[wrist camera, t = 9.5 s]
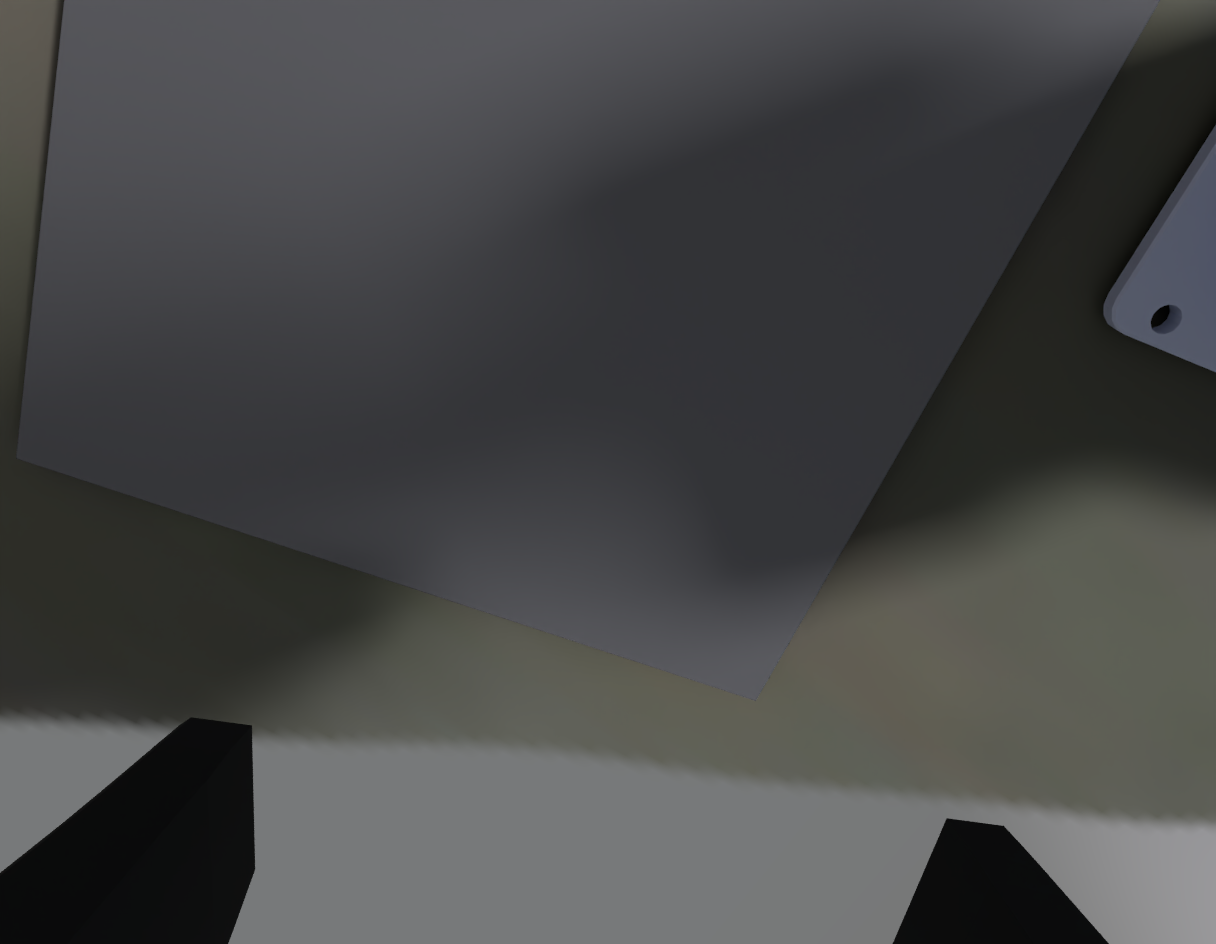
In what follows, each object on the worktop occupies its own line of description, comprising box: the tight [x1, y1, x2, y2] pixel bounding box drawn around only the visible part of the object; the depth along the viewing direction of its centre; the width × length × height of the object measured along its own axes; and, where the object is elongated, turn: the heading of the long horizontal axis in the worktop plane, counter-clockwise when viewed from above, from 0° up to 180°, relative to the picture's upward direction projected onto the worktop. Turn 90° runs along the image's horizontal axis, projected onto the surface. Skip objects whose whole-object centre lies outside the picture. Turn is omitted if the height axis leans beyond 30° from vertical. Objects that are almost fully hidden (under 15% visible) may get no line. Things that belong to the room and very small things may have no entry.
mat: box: [16, 0, 1160, 701], centre depth 16 cm, size 16×16×1 cm
